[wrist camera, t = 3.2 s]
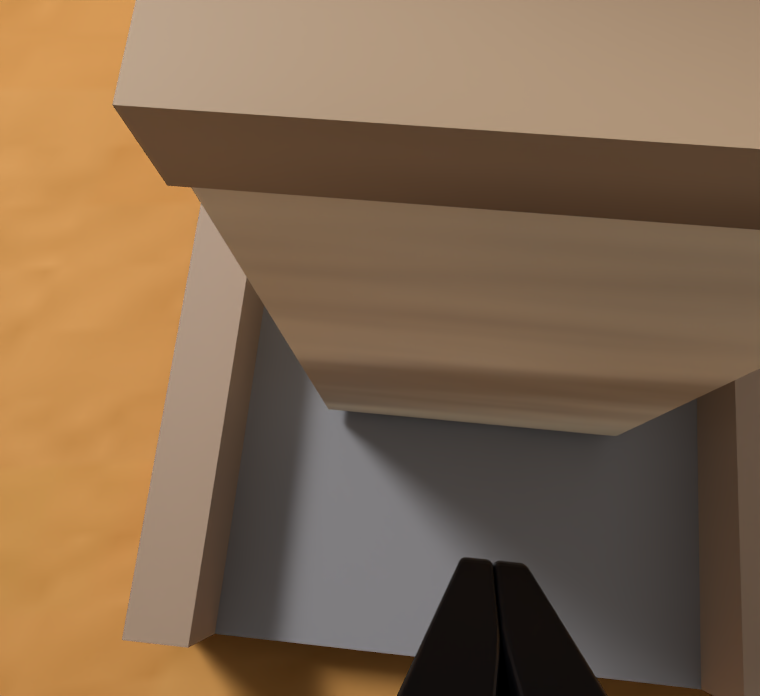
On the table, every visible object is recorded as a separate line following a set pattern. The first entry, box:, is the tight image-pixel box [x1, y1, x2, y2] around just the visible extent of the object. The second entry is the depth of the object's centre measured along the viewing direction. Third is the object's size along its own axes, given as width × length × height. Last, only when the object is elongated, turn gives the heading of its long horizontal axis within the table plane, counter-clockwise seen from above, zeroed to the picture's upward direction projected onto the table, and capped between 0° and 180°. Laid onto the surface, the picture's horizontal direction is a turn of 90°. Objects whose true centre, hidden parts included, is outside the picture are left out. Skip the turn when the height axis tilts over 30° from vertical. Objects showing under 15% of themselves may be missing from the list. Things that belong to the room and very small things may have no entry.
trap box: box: [122, 204, 760, 696], centre depth 15 cm, size 21×12×5 cm, turn 174°
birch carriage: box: [113, 0, 760, 436], centre depth 10 cm, size 5×6×11 cm
